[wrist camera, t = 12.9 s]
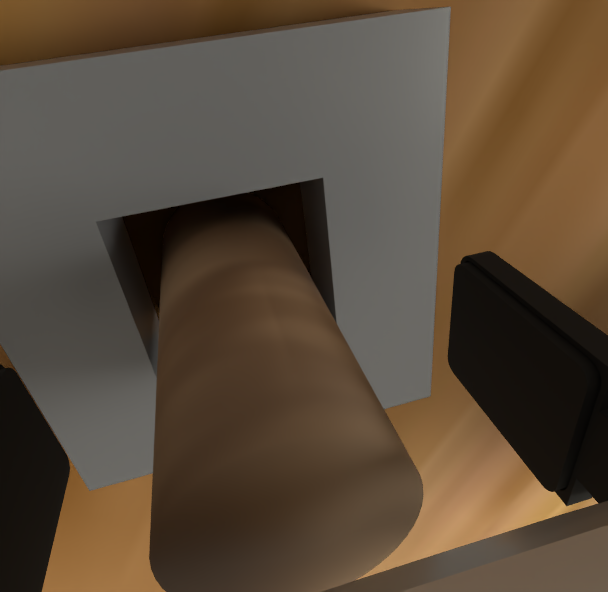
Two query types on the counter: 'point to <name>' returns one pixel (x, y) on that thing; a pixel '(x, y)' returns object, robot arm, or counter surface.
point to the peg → (264, 420)
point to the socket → (209, 185)
